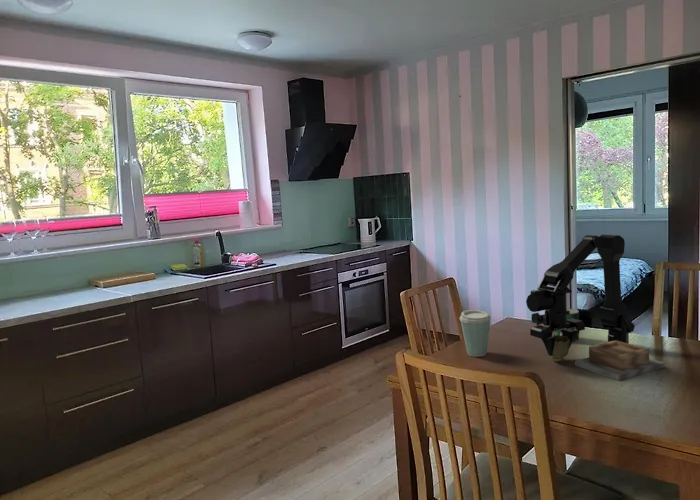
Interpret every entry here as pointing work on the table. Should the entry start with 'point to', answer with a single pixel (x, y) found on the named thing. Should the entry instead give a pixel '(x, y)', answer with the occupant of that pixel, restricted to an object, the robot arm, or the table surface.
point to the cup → (560, 348)
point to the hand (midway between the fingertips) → (558, 353)
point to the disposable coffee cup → (475, 331)
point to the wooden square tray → (618, 360)
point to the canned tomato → (574, 315)
